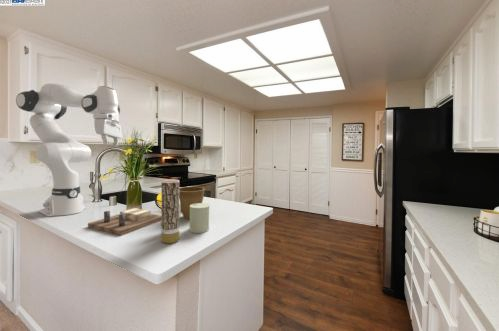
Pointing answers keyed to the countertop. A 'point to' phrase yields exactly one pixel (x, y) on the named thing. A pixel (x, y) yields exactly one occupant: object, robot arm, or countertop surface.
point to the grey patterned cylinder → (170, 211)
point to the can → (199, 217)
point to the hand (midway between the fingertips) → (110, 145)
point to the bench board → (125, 228)
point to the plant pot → (190, 198)
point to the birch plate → (136, 214)
